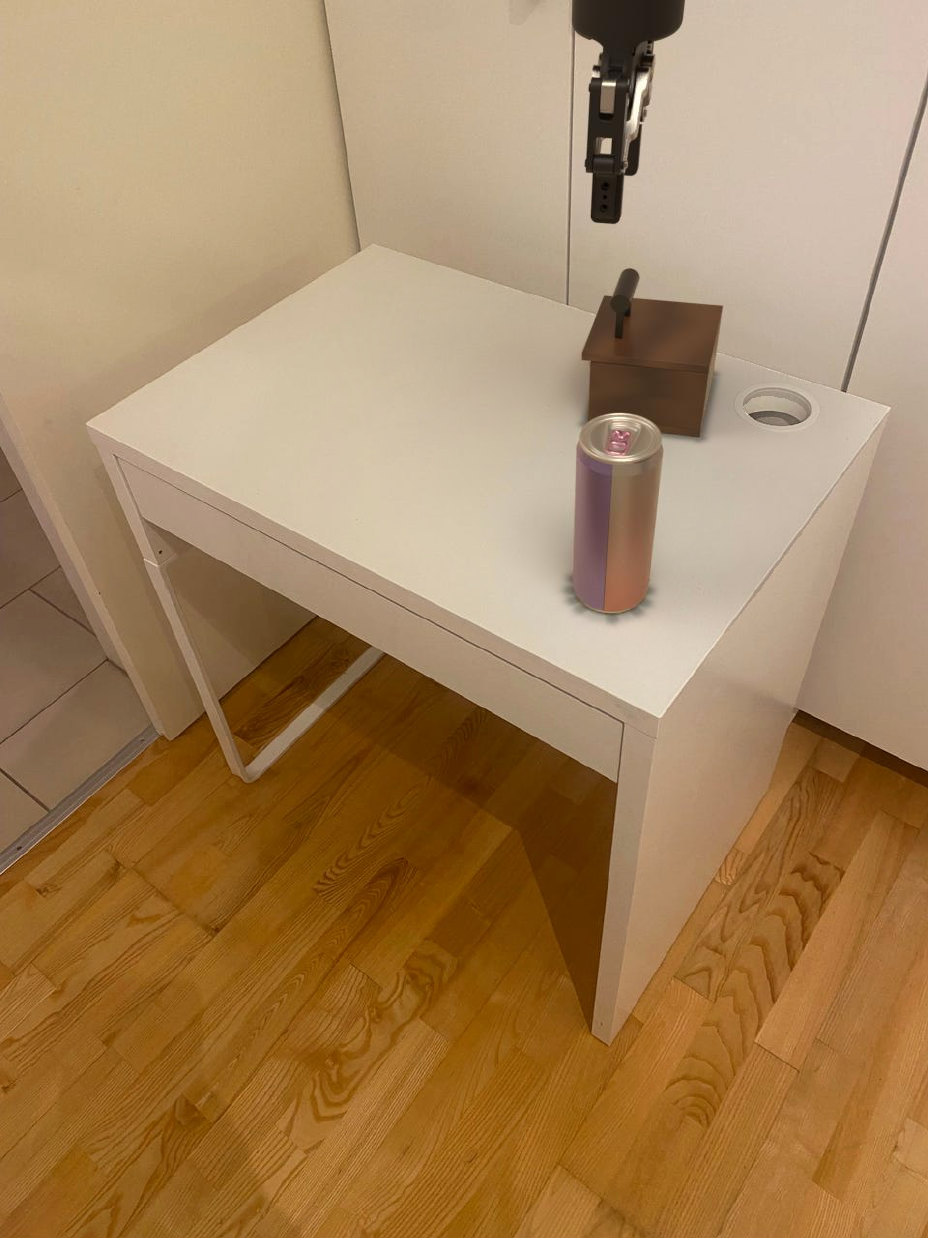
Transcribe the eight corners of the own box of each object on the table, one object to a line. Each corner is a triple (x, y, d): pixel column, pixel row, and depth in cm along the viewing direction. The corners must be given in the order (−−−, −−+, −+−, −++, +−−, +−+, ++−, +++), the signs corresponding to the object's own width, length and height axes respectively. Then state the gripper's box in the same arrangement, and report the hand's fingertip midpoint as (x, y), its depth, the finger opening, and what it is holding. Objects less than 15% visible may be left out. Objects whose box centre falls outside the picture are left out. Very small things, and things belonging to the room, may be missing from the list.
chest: (587, 423, 92) (589, 361, 87) (608, 364, 99) (611, 303, 94) (699, 437, 89) (708, 374, 84) (713, 375, 96) (722, 313, 91)
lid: (581, 360, 87) (582, 307, 83) (603, 302, 94) (606, 251, 90) (708, 373, 84) (716, 319, 80) (722, 312, 91) (729, 260, 87)
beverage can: (565, 610, 75) (568, 456, 64) (580, 559, 79) (586, 406, 68) (640, 623, 74) (657, 467, 63) (653, 570, 77) (671, 415, 67)
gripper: (676, -21, 57) (650, 243, 69) (702, -81, 66) (675, 161, 78) (552, -23, 58) (548, 235, 70) (594, -82, 67) (584, 155, 79)
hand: (615, 196), depth 74 cm, fingers open, 8 cm apart
